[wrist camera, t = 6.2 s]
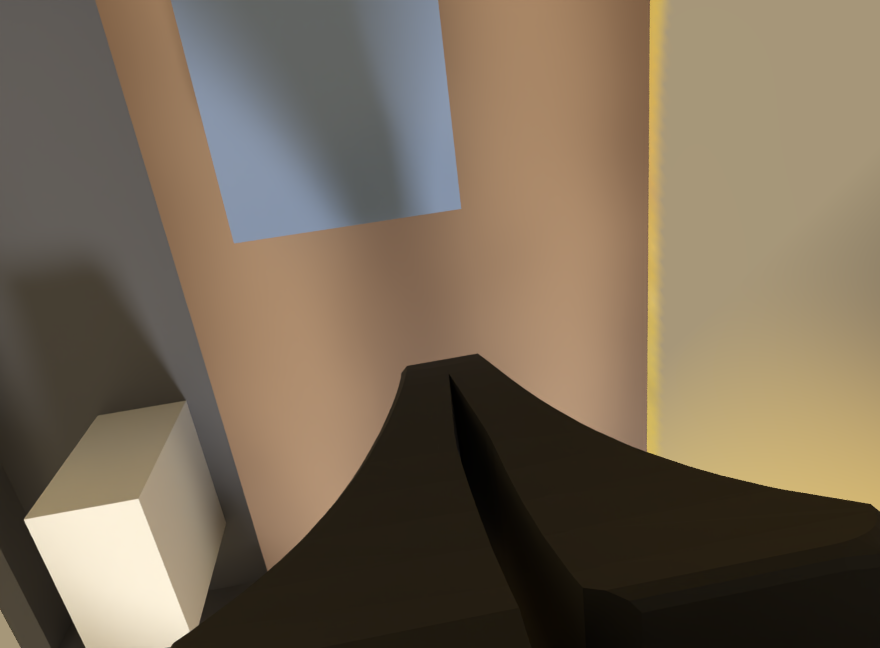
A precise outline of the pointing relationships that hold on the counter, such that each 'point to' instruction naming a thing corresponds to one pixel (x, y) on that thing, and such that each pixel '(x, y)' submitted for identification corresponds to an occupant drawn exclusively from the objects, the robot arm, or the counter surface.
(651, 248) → the counter surface
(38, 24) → the tray
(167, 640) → the white tile
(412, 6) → the blue-gray block
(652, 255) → the counter surface
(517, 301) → the walnut board
